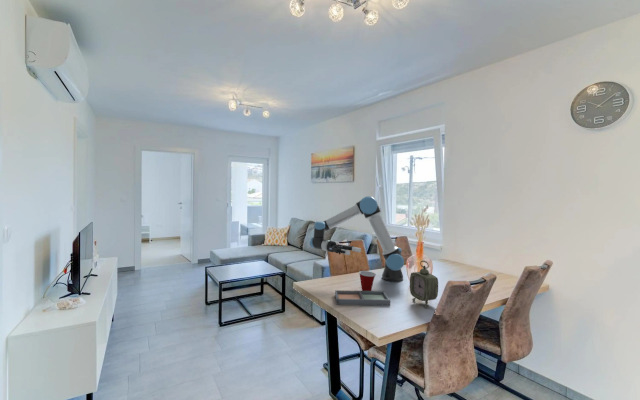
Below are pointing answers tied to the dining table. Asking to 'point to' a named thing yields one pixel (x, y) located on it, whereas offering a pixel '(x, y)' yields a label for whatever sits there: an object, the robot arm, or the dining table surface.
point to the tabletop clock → (423, 285)
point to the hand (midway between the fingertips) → (355, 251)
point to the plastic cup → (366, 280)
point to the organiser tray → (361, 298)
